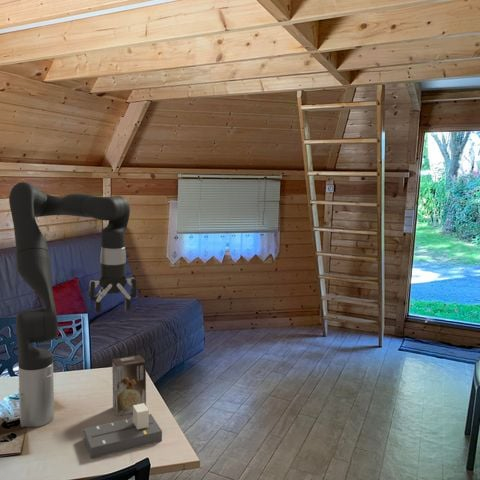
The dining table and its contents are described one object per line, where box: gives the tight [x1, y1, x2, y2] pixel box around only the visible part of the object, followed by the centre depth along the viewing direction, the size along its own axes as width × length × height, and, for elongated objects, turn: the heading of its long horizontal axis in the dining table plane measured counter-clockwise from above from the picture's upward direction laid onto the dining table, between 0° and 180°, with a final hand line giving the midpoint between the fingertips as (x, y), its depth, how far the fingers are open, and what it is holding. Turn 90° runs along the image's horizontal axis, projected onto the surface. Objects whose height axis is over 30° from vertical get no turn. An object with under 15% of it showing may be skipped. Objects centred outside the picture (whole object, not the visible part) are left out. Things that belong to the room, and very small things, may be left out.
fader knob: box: [132, 403, 150, 430], centre depth 131 cm, size 3×4×5 cm
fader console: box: [83, 413, 163, 460], centre depth 129 cm, size 19×10×3 cm, turn 118°
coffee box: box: [111, 354, 147, 417], centre depth 145 cm, size 9×6×16 cm
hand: (112, 311), depth 147 cm, fingers open, 8 cm apart
